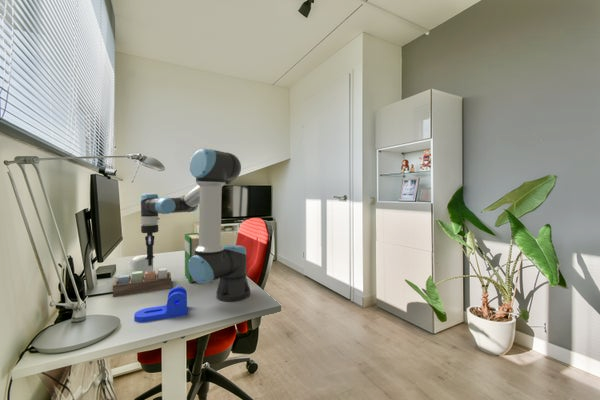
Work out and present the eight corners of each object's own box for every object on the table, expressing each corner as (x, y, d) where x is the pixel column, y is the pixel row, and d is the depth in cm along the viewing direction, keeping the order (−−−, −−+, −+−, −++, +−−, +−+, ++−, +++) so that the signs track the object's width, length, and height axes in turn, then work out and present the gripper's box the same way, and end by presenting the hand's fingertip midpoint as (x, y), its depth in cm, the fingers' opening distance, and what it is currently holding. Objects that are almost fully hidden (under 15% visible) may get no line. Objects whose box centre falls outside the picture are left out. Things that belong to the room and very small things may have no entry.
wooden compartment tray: (171, 288, 132) (171, 278, 132) (112, 296, 121) (112, 285, 121) (170, 281, 143) (170, 271, 143) (116, 288, 132) (116, 278, 132)
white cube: (167, 277, 135) (167, 269, 135) (158, 279, 133) (157, 271, 133) (167, 275, 139) (167, 267, 139) (158, 276, 137) (158, 269, 137)
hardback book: (204, 281, 143) (204, 236, 143) (189, 283, 139) (189, 237, 139) (198, 273, 158) (198, 232, 158) (184, 275, 154) (184, 233, 154)
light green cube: (142, 281, 130) (142, 272, 130) (132, 282, 128) (132, 274, 128) (142, 278, 134) (142, 270, 134) (132, 279, 132) (132, 271, 132)
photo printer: (136, 280, 144) (136, 258, 144) (129, 280, 144) (129, 257, 144) (149, 275, 154) (149, 253, 154) (143, 274, 155) (142, 253, 154)
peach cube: (155, 280, 132) (155, 272, 132) (145, 281, 130) (145, 273, 130) (155, 278, 136) (155, 270, 136) (145, 279, 134) (145, 271, 134)
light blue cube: (128, 285, 127) (128, 276, 127) (118, 286, 125) (118, 277, 125) (129, 282, 131) (129, 274, 131) (119, 283, 129) (119, 275, 129)
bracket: (186, 307, 110) (186, 285, 110) (187, 315, 103) (186, 292, 102) (136, 314, 103) (136, 291, 103) (132, 324, 95) (132, 299, 95)
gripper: (158, 225, 129) (158, 274, 129) (158, 223, 140) (158, 267, 141) (140, 226, 125) (140, 276, 126) (141, 223, 137) (142, 269, 137)
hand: (150, 271), depth 133 cm, fingers closed
